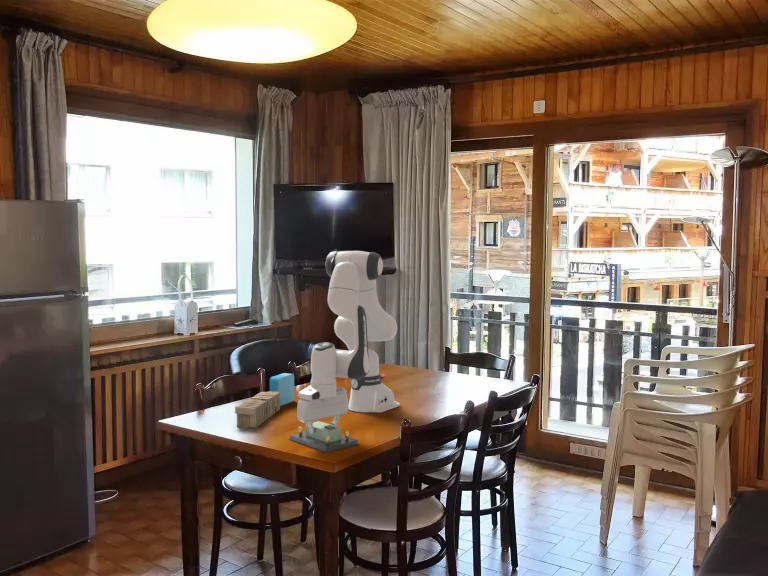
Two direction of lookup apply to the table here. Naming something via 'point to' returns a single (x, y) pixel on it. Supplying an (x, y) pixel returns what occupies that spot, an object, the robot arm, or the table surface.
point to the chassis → (324, 446)
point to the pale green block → (324, 431)
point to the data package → (283, 387)
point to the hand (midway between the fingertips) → (323, 430)
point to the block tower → (257, 409)
